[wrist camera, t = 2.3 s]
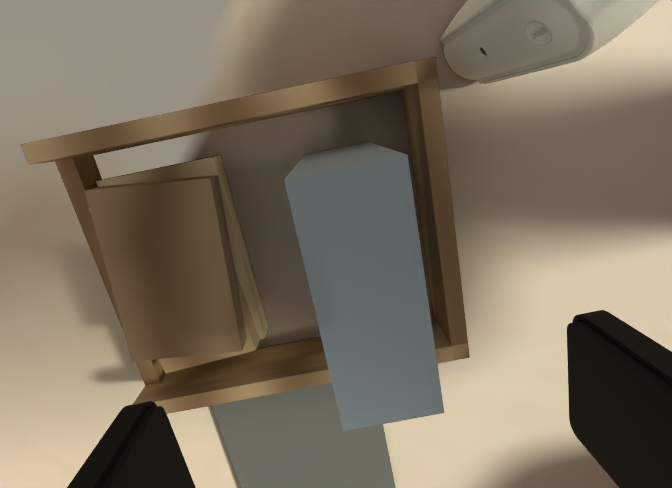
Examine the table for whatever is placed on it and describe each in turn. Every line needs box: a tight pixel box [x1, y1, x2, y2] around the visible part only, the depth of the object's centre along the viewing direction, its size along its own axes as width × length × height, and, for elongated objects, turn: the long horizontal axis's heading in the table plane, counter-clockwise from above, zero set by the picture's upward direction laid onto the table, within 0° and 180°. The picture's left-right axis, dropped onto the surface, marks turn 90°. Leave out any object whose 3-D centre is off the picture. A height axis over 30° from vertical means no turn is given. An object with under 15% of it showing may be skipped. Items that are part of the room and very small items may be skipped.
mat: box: [212, 383, 395, 488], centre depth 30 cm, size 12×12×1 cm
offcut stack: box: [85, 155, 268, 373], centre depth 23 cm, size 8×12×4 cm, turn 11°
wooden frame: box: [21, 57, 469, 414], centre depth 23 cm, size 21×17×4 cm
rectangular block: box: [284, 142, 444, 431], centre depth 19 cm, size 4×10×12 cm, turn 11°
